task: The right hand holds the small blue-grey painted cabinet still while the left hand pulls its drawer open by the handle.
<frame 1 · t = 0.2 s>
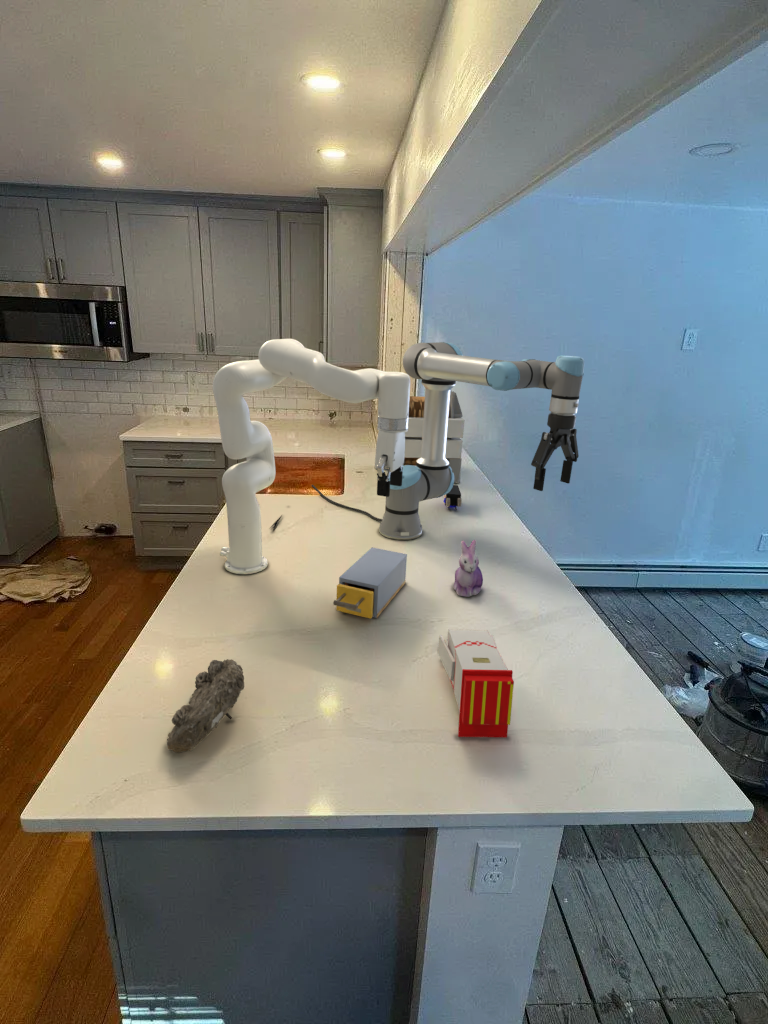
left hand: (389, 490, 145), 31 cm above the counter, tool pointing down, fingers open, 9 cm apart
right hand: (551, 486, 166), 28 cm above the counter, tool pointing down, fingers open, 13 cm apart
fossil: (212, 717, 108), on the counter
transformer: (419, 473, 275), on the counter
toy: (469, 691, 119), on the counter
figurine character: (451, 506, 230), on the counter
drawer: (365, 589, 150), point 5 cm above the counter, slide at 1.4 cm
figurine: (467, 590, 162), on the counter
cabinet: (373, 595, 157), on the counter
feather: (280, 519, 209), on the counter
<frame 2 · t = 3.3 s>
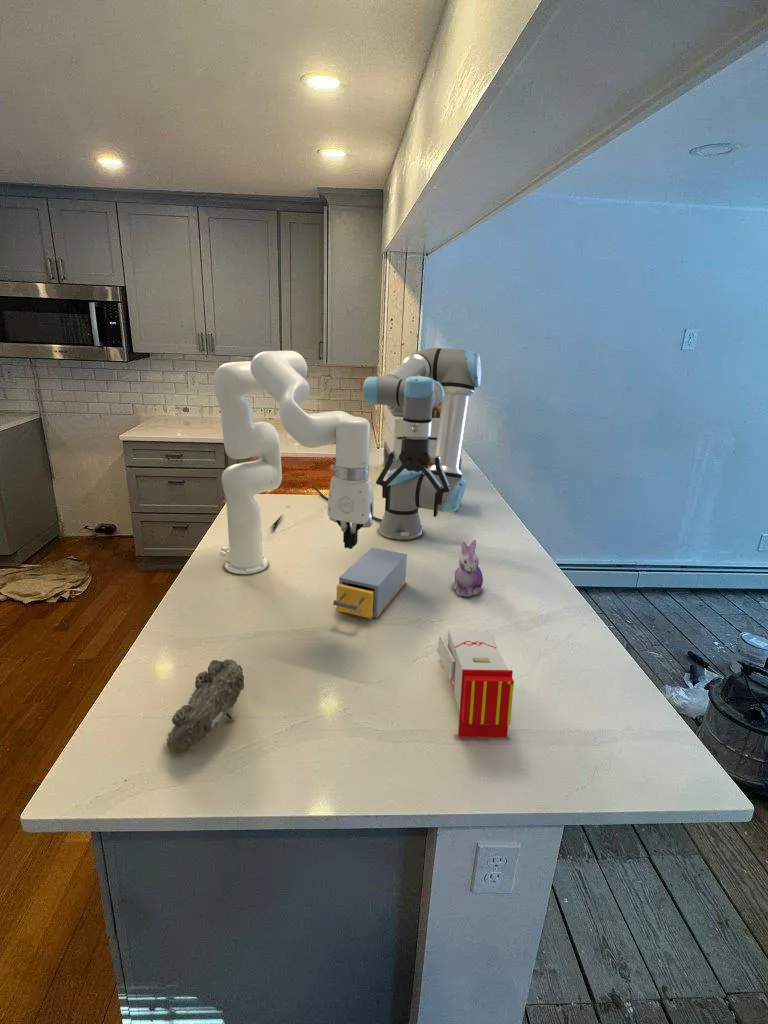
left hand: (350, 546, 135), 21 cm above the counter, tool pointing down, fingers closed
right hand: (411, 512, 157), 22 cm above the counter, tool pointing down, fingers open, 13 cm apart
nothing on the counter moved.
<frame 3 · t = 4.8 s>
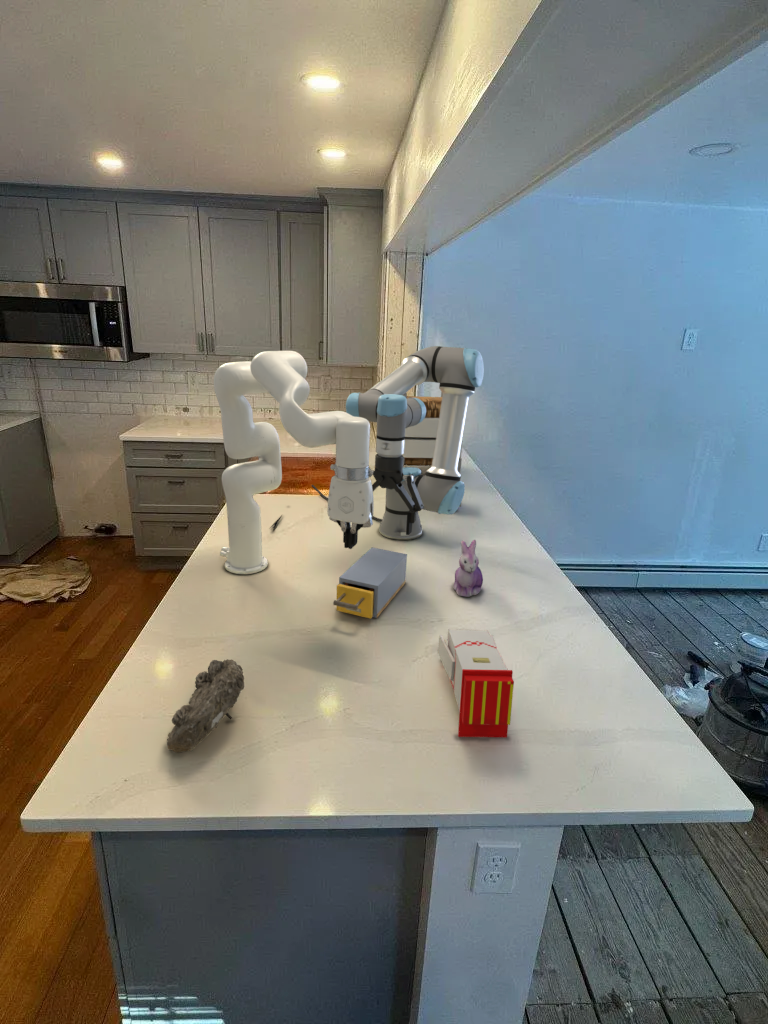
left hand: (350, 546, 135), 21 cm above the counter, tool pointing down, fingers closed
right hand: (385, 529, 157), 17 cm above the counter, tool pointing down, fingers open, 13 cm apart
nothing on the counter moved.
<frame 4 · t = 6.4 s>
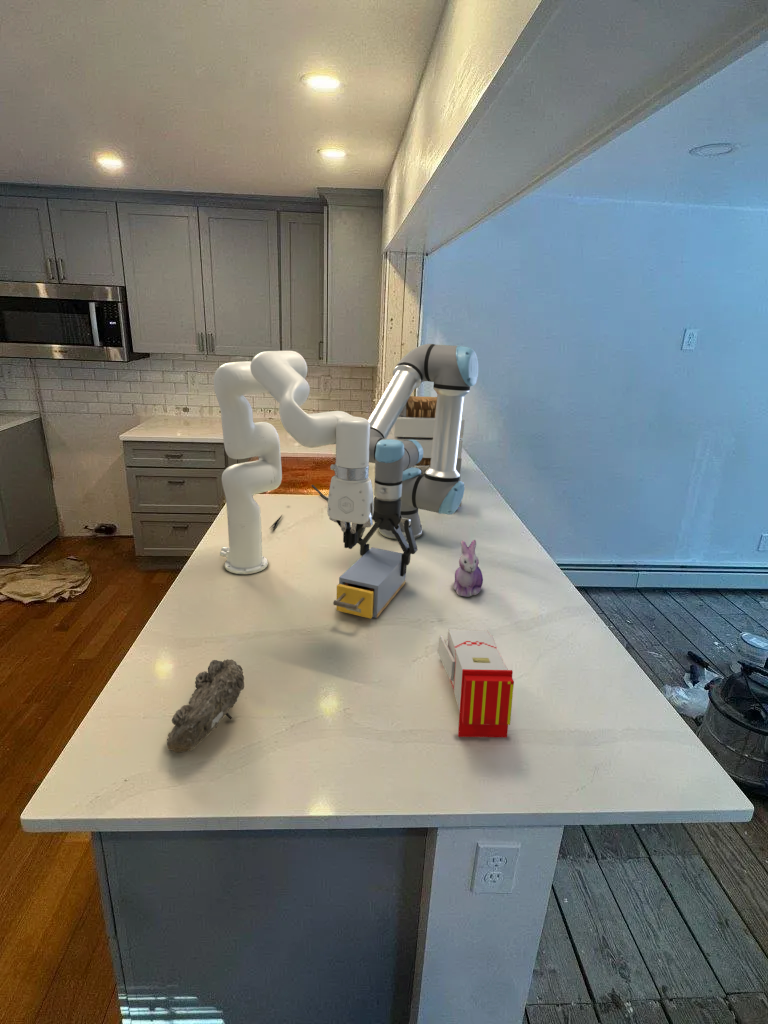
left hand: (350, 546, 135), 21 cm above the counter, tool pointing down, fingers closed
right hand: (384, 570, 162), 4 cm above the counter, tool pointing down, fingers closed on cabinet, 11 cm apart
cabinet: (373, 595, 157), on the counter, touching right hand
everything else where it was.
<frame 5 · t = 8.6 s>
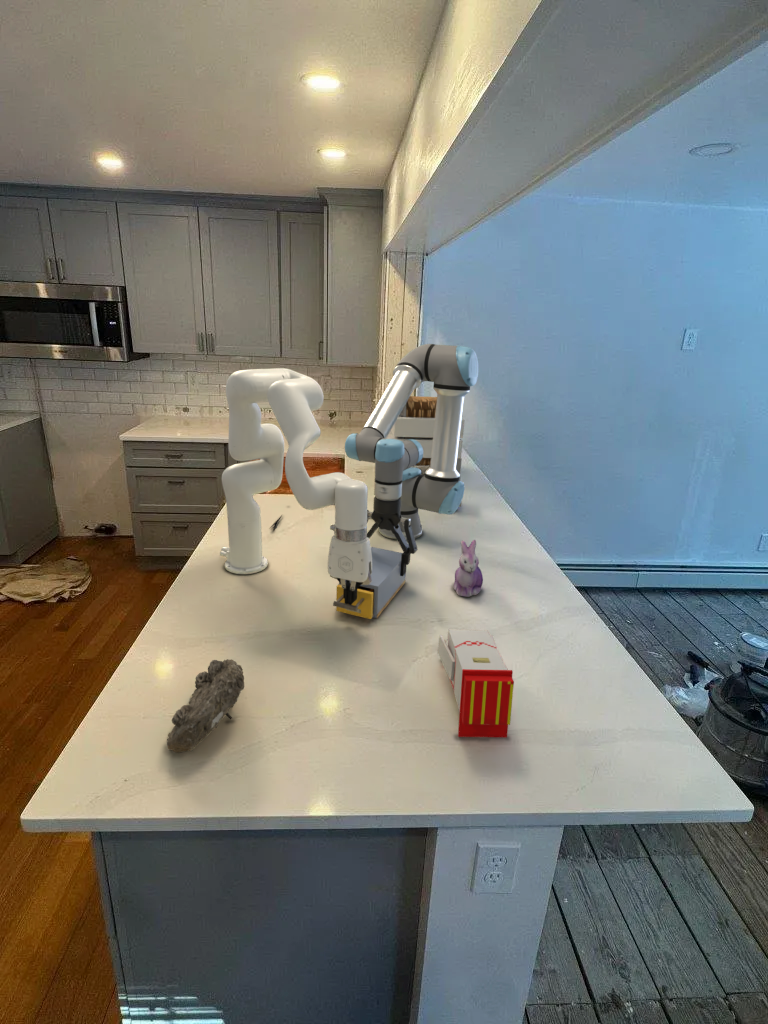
left hand: (350, 601, 139), 6 cm above the counter, tool pointing down, fingers closed
right hand: (383, 570, 161), 5 cm above the counter, tool pointing down, fingers closed on cabinet, 11 cm apart
drawer: (365, 590, 149), point 5 cm above the counter, slide at 1.5 cm, touching left hand
cabinet: (373, 595, 156), on the counter, touching right hand
everything else where it was.
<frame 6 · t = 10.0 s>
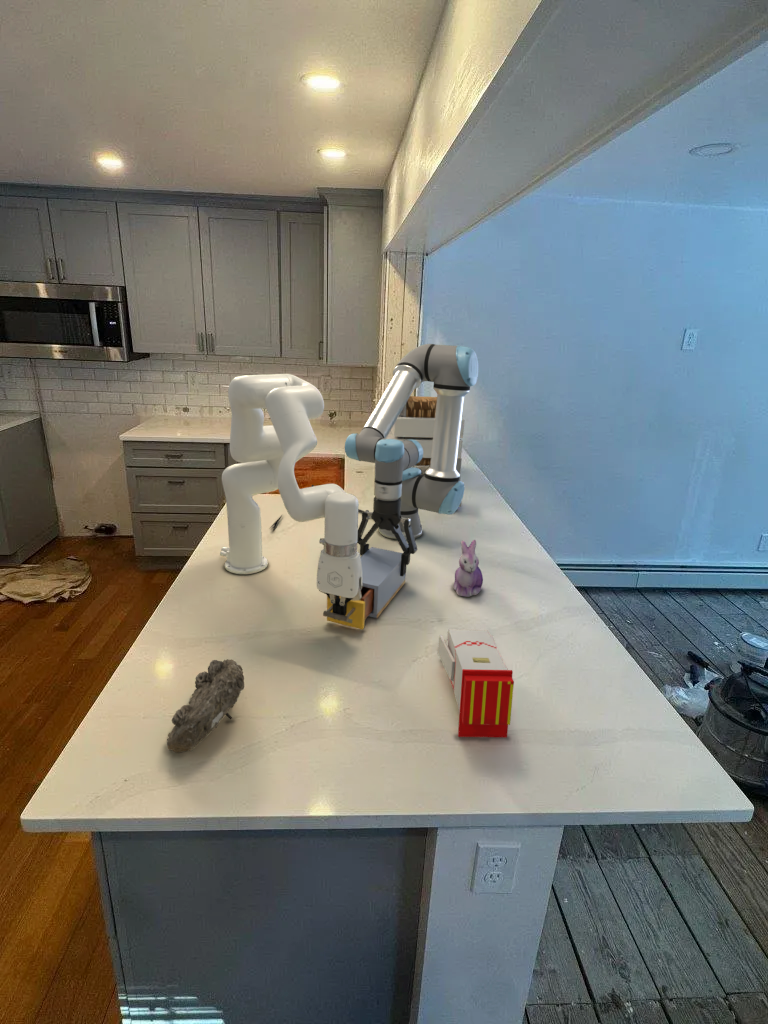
left hand: (339, 617, 136), 5 cm above the counter, tool pointing down, fingers closed
right hand: (383, 570, 161), 5 cm above the counter, tool pointing down, fingers closed on cabinet, 11 cm apart
drawer: (357, 598, 145), point 5 cm above the counter, slide at 6.8 cm, touching left hand
cabinet: (373, 595, 156), on the counter, touching right hand
everything else where it was.
when the right hand's fingers open (4 cm above the counter, at t = 11.7 s): cabinet stays where it is, on the counter.
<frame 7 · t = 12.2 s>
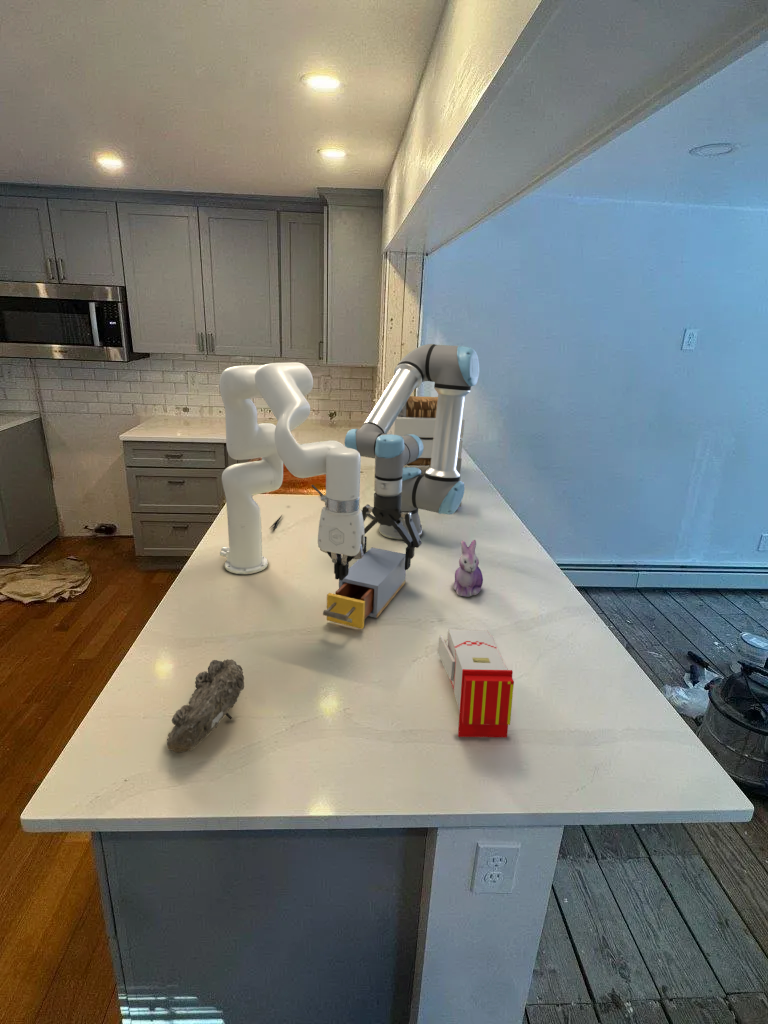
left hand: (341, 577, 133), 15 cm above the counter, tool pointing down, fingers closed
right hand: (384, 563, 161), 6 cm above the counter, tool pointing down, fingers open, 13 cm apart
drawer: (356, 598, 145), point 5 cm above the counter, slide at 6.8 cm
cabinet: (373, 595, 156), on the counter
everything else where it was.
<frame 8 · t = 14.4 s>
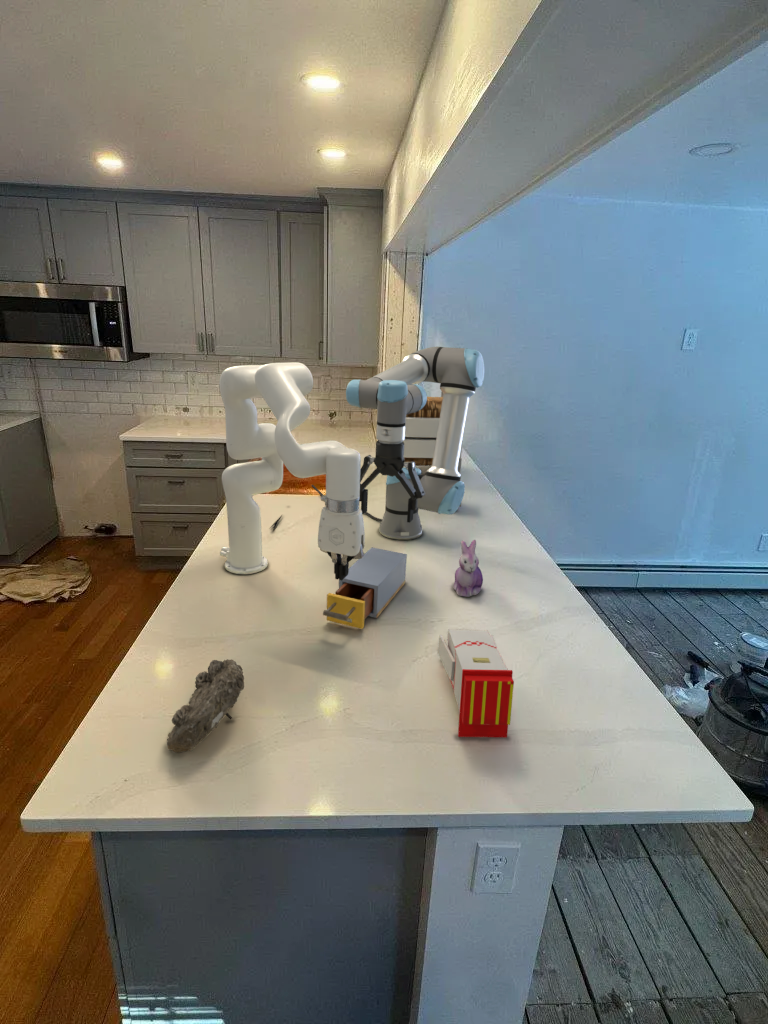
left hand: (341, 577, 133), 15 cm above the counter, tool pointing down, fingers closed
right hand: (386, 516, 156), 21 cm above the counter, tool pointing down, fingers open, 13 cm apart
nothing on the counter moved.
at the end: drawer slide at 6.8 cm; cabinet tilted 0°; cabinet never tilted more than 1° during the clip; cabinet moved 0.1 cm from its start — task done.
